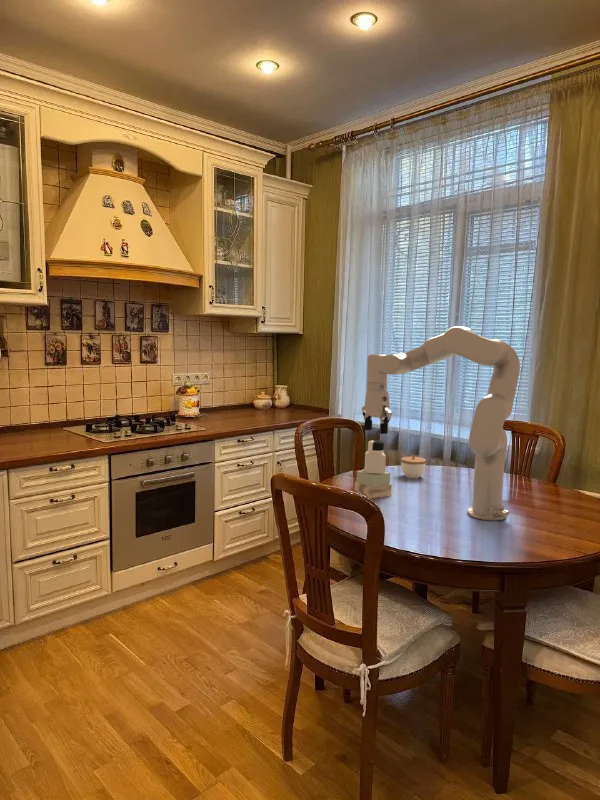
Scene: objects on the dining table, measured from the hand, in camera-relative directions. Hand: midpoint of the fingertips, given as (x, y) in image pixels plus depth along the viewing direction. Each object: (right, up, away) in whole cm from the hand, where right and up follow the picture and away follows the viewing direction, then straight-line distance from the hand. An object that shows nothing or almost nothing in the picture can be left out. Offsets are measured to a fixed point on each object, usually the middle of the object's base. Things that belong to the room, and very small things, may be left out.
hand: (375, 431), depth 211 cm
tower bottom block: (-1, -25, +3) cm, 25 cm away
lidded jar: (+20, -22, +31) cm, 43 cm away
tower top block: (-1, -20, +3) cm, 20 cm away
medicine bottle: (0, -16, +2) cm, 16 cm away
